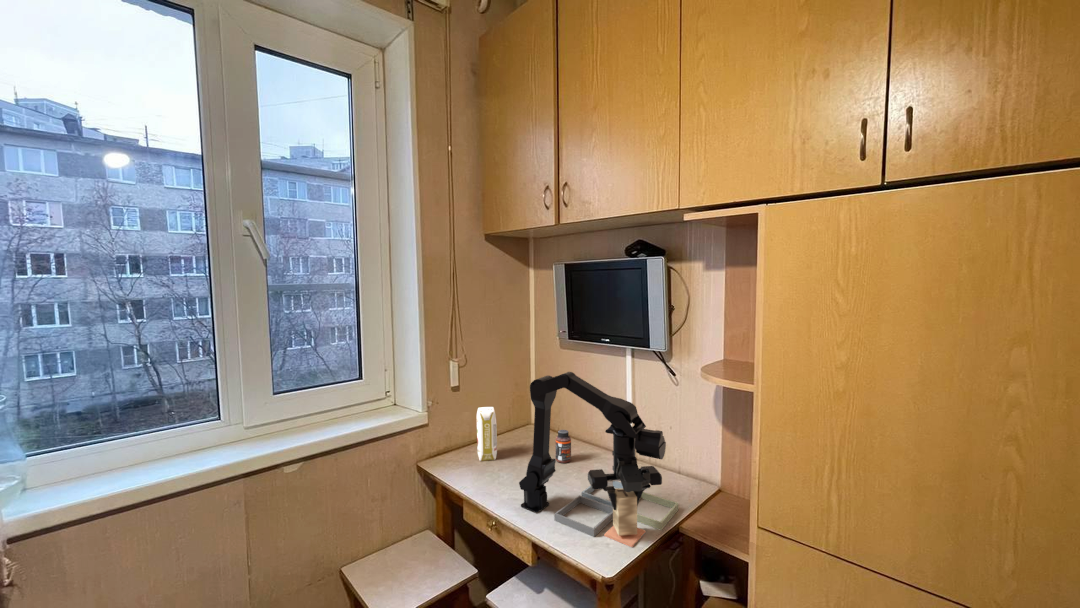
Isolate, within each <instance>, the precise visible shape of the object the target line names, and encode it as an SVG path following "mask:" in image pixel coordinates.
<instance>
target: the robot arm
mask: <svg viewBox="0 0 1080 608" xmlns="http://www.w3.org/2000/svg"><path fill="white" fill-rule="evenodd" d="M561 389H566V390H567V391H569V392H570V393H573V394H574V395H575V396H577V397H578V398H580V399H581V400H583V401H584V402H586V403H588V404H589V405H591V406H593V407H595V408H596V409H598V411H600V412H601V414H602V415H603V417H604V418H605V419H606V420H607V421H608V422H609V423H610V426H609V427H608V428H606V429H605V431H604V432H605V433H606V434H611V435H612V439H613V440H612V443H613V444H612V448H613V449H612V451H611V453H612V456H613V458H612V459H613V461H612V462H613V465H612V471H613V473H605V471H604V470H603V469H602V468H601V469H590V470H589V471H588V473H587V481H588V483H589V486H591V487H592V489H595V490H603V491H604V492H607V494H608V498H609V501H611V504H612V507H613V509H614V510H616V502H615V489H616V488H615V487H614V486H613V482H614V481H618V482H621V483H622V486H623V489H624V491H626V492H631V491H633V492H634V493H635V495H636V496H637V506H638V505H639V502H640V500H641V498H640V497H641V495H642V493H643V492H645V490H647V489H650V488H651V486H660V485H662V484H663V477H662V474H661V473H660V472H659V470H658V469H657V468H656V467H655V466H654V465H646V466H641V467H639V466H638V458H637V456H636V454H638V455H639V456H643V457H646V458H647V457H648V458H652V459H657V460H663V459H664V457H665V454H666V448H667V447H666V446H667V445H666V443H667V442H666V439H665V436H663V430H657V429H656V430H652V429H648V428H646V427H647V426H646V424H645V422H644V421H643V419H642V418H641V416H640V415H639V414H638V408H637V406H636V405H635V403H633V402H630V401H628V400H626V399H623V398H620V397H615V396H611V395H609V394H607V393H606V392H604V391H602V390H601V389H599V388H598V387H596V386H594V385H593V384H590V383H589V382H588V381H586V380H584V379H583V378H581V377H580V376H577V375H576V374H575V373H574V372H572V371H567V372H564V373H562V374H559V375H555V376H551V375H544V376H541V377H539V378H537V379H533V380H532V381H531V383H530V384H529V393H530V400H531V402H532V404H533V407H534V421H533V422H534V423H533V442H532V444H533V445H532V455H531V457H530V458H529V461H528V463H527V469H526V473H525V477H523V478H522V479H520V481H519V482H518V485H519V488H520V490H522V491H523V502H522V503H521V504H520V507H521V508H524V509H526V510H527V511H528V510H529V511H531V512H533V513H536V514H537V513H539V512H541V511H542V510H543V509H545V508H546V507H548V506H549V505H550V501H548V492H547V486H546V484H547V483H549V481H550V478H552V477H553V476H554V473H555V472H556V471H557V470H556V462H557V461H556V458H552V457H551V455H550V439H551V437H550V435H551V415H552V413H551V412H552V406H553V403H554V402H555V400H556V397H557V393H558V390H561ZM632 424H633V425H632ZM595 490H594V491H595Z"/></svg>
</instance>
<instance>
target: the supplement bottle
mask: <svg viewBox="0 0 1080 608" xmlns="http://www.w3.org/2000/svg"><path fill="white" fill-rule="evenodd" d="M555 460H556V462H558V463H560V464H568V463H569V462H571V460H572V438H571V436H570V433H569V430H567V429H559V430H558V431H557V435H556V437H555Z"/></svg>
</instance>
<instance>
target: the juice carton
mask: <svg viewBox="0 0 1080 608" xmlns="http://www.w3.org/2000/svg"><path fill="white" fill-rule="evenodd" d="M496 414H497V413H496V410H495V407H494V406H482V407H478V408H477V411H476V443H477V444H476V446H477V447H476V448H477V450H476V451H477V456H478V459H479V462H484V461H495V460H496V458H497V456H498V438H497V437H498V435H497V430H498V429H497V427H498V426H497V415H496Z"/></svg>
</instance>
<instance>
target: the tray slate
mask: <svg viewBox="0 0 1080 608" xmlns="http://www.w3.org/2000/svg"><path fill="white" fill-rule="evenodd" d="M613 486H614V488H615V489H618V488H623V486H622V483H621V481H614V482H613ZM594 491H595V489H592V487H591V485H589V486H588V487H587V488H585V489H584V490H582V491H581V496H583V497H586V498H589V499H592V500H594V501H597V502H600V503H603V504H606V505H609V506H611V507H612V504H611V501H610V499H609V500H608V499H605V498H602V497H599V496H597V495H593V494H592V492H594Z"/></svg>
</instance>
